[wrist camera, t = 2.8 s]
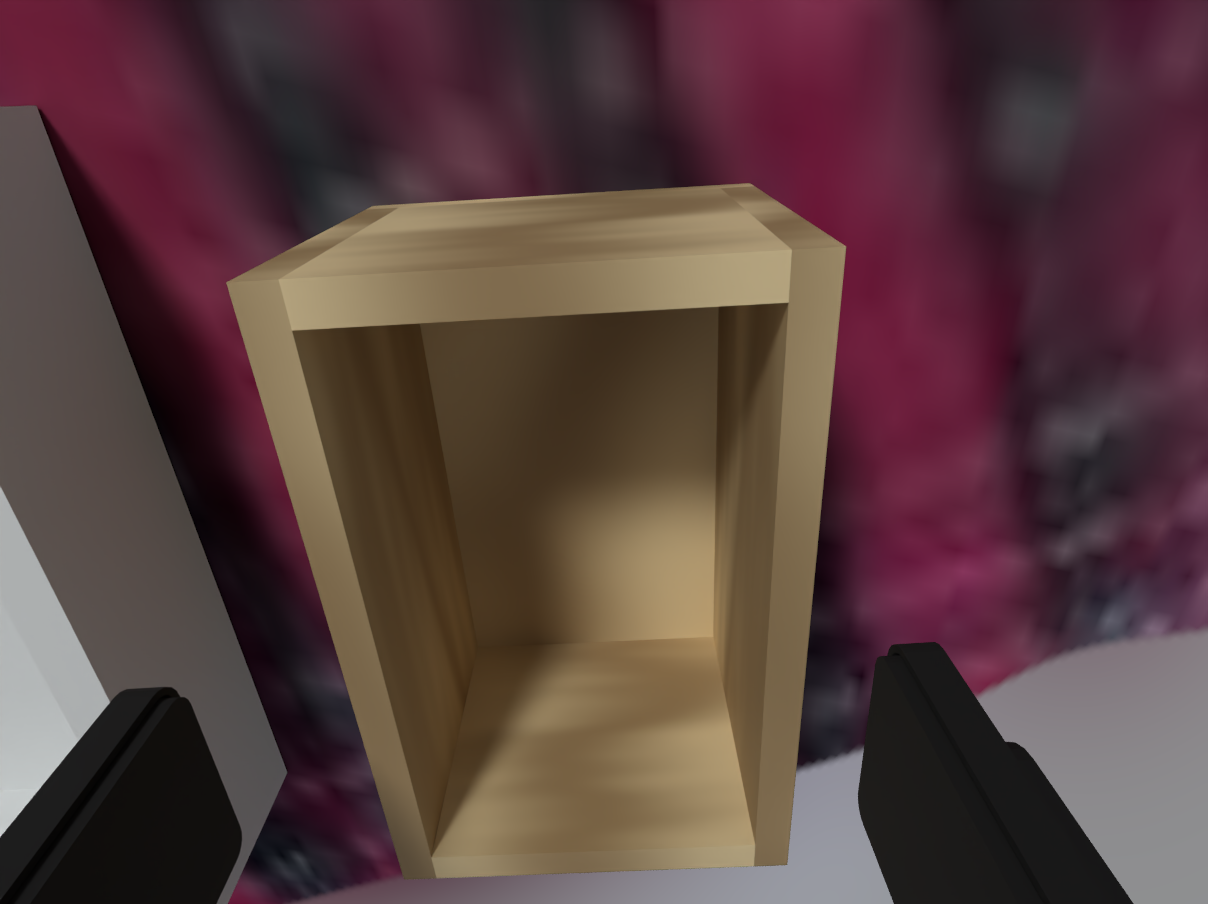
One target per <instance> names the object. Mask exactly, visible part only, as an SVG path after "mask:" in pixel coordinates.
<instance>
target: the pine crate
mask: <svg viewBox="0 0 1208 904" xmlns="http://www.w3.org/2000/svg"><path fill="white" fill-rule="evenodd" d="M845 252H846V246H844V245H843V244H841V243H840V242H838V241H837V240H835V239H834V238H832V237H831V236H829V235H828V234H826V233H825V232H823V231H822V230H820V229H819V228H817V227H816V226H814V225H812V224H811V223H809V222H808V221H806V220H805V219H803V218H802V217H800V216H799V215H797V214H796V213H794V212H793V211H791V210H790V209H788V208H787V207H785V206H784V205H782V204H781V203H779V202H777V201H776V200H774V199H773V198H771V197H770V196H768V195H767V194H765V193H764V192H762V191H761V190H759V189H758V188H756V187H755V186H753V185H752V184H750V183H747V184H730V185H713V186H697V187H680V188H664V189H647V190H631V191H614V192H598V193H581V194H565V195H548V196H532V197H515V198H499V199H482V200H466V201H449V202H433V203H416V204H400V205H383V206H372V207H370V208H368V209H366V210H364V211H362V212H360V213H359V214H357V215H355V216H353V217H351V218H349V219H347V220H345V221H343V222H341V223H339V224H337V225H336V226H334V227H332V228H330V229H328V230H326V231H324V232H322V233H320V234H318V235H316V236H315V237H313V238H311V239H309V240H307V241H305V242H303V243H301V244H299V245H297V246H295V247H293V248H292V249H290V250H288V251H286V252H284V253H282V254H280V255H278V256H276V257H274V258H272V259H270V260H269V261H267V262H265V263H263V264H261V265H259V266H257V267H255V268H253V269H251V270H249V271H247V272H246V273H244V274H242V275H240V276H238V277H236V278H234V279H232V280H230V281H228V282H226V283H227V286H228V290H229V293H230V297H231V300H232V303H233V307H234V310H235V313H236V317H237V320H238V323H239V327H240V330H241V333H242V337H243V340H244V343H245V347H246V350H247V354H248V357H249V360H250V364H251V367H252V370H253V374H254V377H255V380H256V384H257V387H258V390H259V394H260V397H261V401H262V404H263V407H264V411H265V414H266V417H267V421H268V424H269V427H270V431H271V434H272V437H273V441H274V444H275V448H276V451H277V454H278V458H279V461H280V464H281V468H282V471H283V474H284V478H285V481H286V484H287V488H288V491H289V494H290V498H291V501H292V505H293V508H294V511H295V515H296V518H297V521H298V525H299V528H300V531H301V535H302V538H303V541H304V545H305V548H306V552H307V555H308V558H309V562H310V565H311V568H312V572H313V575H314V578H315V582H316V585H317V588H318V592H319V595H320V599H321V602H322V605H323V609H324V612H325V615H326V619H327V622H328V625H329V629H330V632H331V635H332V639H333V642H334V645H335V649H336V652H337V656H338V659H339V662H340V666H341V669H342V672H343V676H344V679H345V682H346V686H347V689H348V692H349V696H350V699H351V703H352V706H353V709H354V713H355V716H356V719H357V723H358V726H359V729H360V733H361V736H362V739H363V743H364V746H365V750H366V753H367V756H368V760H369V763H370V766H371V770H372V773H373V776H374V780H375V783H376V786H377V790H378V793H379V796H380V800H381V803H382V807H383V810H384V813H385V817H386V820H387V823H388V827H389V830H390V833H391V837H392V840H393V843H394V847H395V850H396V854H397V857H398V860H399V864H400V867H401V870H402V874H403V877H404V879H430V878H455V877H482V876H509V875H536V874H562V873H589V872H614V871H641V870H668V869H695V868H721V867H748V866H775V865H787V860H788V850H789V839H790V828H791V818H792V807H793V798H794V787H795V777H796V766H797V756H798V745H799V735H800V724H801V714H802V703H803V693H804V682H805V672H806V661H807V651H808V640H809V630H810V619H811V609H812V598H813V588H814V578H815V567H816V557H817V546H818V536H819V525H820V515H821V504H822V494H823V483H824V473H825V462H826V452H827V441H828V431H829V420H830V410H831V399H832V389H833V378H834V368H835V357H836V347H837V336H838V326H839V315H840V305H841V294H842V284H843V273H844V263H845Z"/></svg>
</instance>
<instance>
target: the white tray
mask: <svg viewBox="0 0 1208 904" xmlns="http://www.w3.org/2000/svg"><path fill="white" fill-rule="evenodd" d="M153 687H172V688H174V689H175V690H177V692H178V694H179V695H180V697H185V698H187V699H188V700H189V701H190V703H191V705H192V707H193V710H194V712H195V715H196V717H197V720H198V722H199V725H200V727H201V730H202V732H203V735H204V737H205V740H206V742H207V745H208V747H209V750H210V752H211V755H212V757H213V760H214V762H215V765H216V767H217V770H218V772H219V775H220V777H221V780H222V782H223V784H224V787H225V789H226V792H227V794H228V797H229V799H230V802H231V804H232V807H233V809H234V812H235V814H236V817H237V819H238V822H239V824H240V827H241V831H242V845H241V850H240V854H239V857H238V859H237V861H236V864H235V866H234V868H233V870H232V872H231V874H230V876H229V878H228V881H227V883H226V885H225V887H224V889H223V891H222V893H221V895H220V897H219V900H218V902H217V904H228V902H229V899H230V897H231V895H232V893H233V891H234V889H235V886H236V884H237V882H238V880H239V878H240V875H241V873H242V871H243V869H244V867H245V864H246V862H247V860H248V858H249V856H250V854H251V851H252V849H253V847H254V845H255V843H256V840H257V838H258V836H259V834H260V832H261V829H262V827H263V825H264V823H265V821H266V819H267V816H268V814H269V812H270V810H271V808H272V805H273V803H274V801H275V799H276V797H277V794H278V792H279V790H280V788H281V786H282V784H283V781H284V779H285V777H286V775H287V770H286V767H285V765H284V762H283V760H282V757H281V754H280V752H279V749H278V746H277V744H276V741H275V738H274V736H273V733H272V730H271V728H270V725H269V722H268V720H267V717H266V714H265V712H264V709H263V706H262V704H261V701H260V698H259V696H258V693H257V690H256V688H255V685H254V682H253V680H252V677H251V674H250V672H249V669H248V667H247V664H246V661H245V659H244V656H243V653H242V651H241V648H240V645H239V643H238V640H237V637H236V635H235V632H234V629H233V627H232V624H231V621H230V619H229V616H228V613H227V611H226V608H225V605H224V603H223V600H222V597H221V595H220V592H219V589H218V587H217V584H216V581H215V579H214V576H213V574H212V571H211V568H210V566H209V563H208V560H207V558H206V555H205V552H204V550H203V547H202V544H201V542H200V539H199V536H198V534H197V531H196V528H195V526H194V523H193V520H192V518H191V515H190V512H189V510H188V507H187V504H186V502H185V499H184V496H183V494H182V491H181V488H180V486H179V483H178V481H177V478H176V475H175V473H174V470H173V467H172V465H171V462H170V459H169V457H168V454H167V451H166V449H165V446H164V443H163V441H162V438H161V435H160V433H159V430H158V427H157V425H156V422H155V419H154V417H153V414H152V411H151V409H150V406H149V403H148V401H147V398H146V395H145V393H144V390H143V388H142V385H141V382H140V380H139V377H138V374H137V372H136V369H135V366H134V364H133V361H132V358H131V356H130V353H129V350H128V348H127V345H126V342H125V340H124V337H123V334H122V332H121V329H120V326H119V324H118V321H117V318H116V316H115V313H114V310H113V308H112V305H111V303H110V300H109V297H108V295H107V292H106V289H105V287H104V284H103V281H102V279H101V276H100V273H99V271H98V268H97V265H96V263H95V260H94V257H93V255H92V252H91V249H90V247H89V244H88V241H87V239H86V236H85V233H84V231H83V228H82V225H81V223H80V220H79V217H78V215H77V212H76V210H75V207H74V204H73V202H72V199H71V196H70V194H69V191H68V188H67V186H66V183H65V180H64V178H63V175H62V172H61V170H60V167H59V164H58V162H57V159H56V156H55V154H54V151H53V148H52V146H51V143H50V140H49V138H48V135H47V132H46V130H45V127H44V124H43V122H42V119H41V117H40V114H39V111H38V109H37V106H10V107H0V837H1V835H2V834H3V833H4V832H5V831H6V829H7V828H8V827H9V826H10V824H11V823H12V822H13V821H14V820H15V818H16V817H17V816H18V815H19V813H20V812H21V811H22V810H23V808H24V807H25V806H26V805H27V804H28V802H29V801H30V800H31V799H32V797H33V796H34V795H35V794H36V793H37V791H38V790H39V789H40V788H41V786H42V785H43V784H44V783H45V782H46V780H47V779H48V778H49V777H50V775H51V774H52V773H53V772H54V770H55V769H56V768H57V767H58V766H59V764H60V763H61V762H62V761H63V759H64V758H65V757H66V756H67V755H68V753H69V752H70V751H71V750H72V748H73V747H74V746H75V745H76V743H77V742H78V741H79V740H80V739H81V737H82V736H83V735H84V734H85V732H86V731H87V730H88V729H89V728H90V726H91V725H92V724H93V723H94V721H95V720H96V719H97V718H98V717H99V715H100V714H101V713H102V712H103V710H104V709H105V708H106V707H107V705H108V704H109V703H110V702H111V701H112V699H113V698H114V697H115V696H116V695H117V694H118V693H119V692H121V691H123V690H126V689H136V688H153Z"/></svg>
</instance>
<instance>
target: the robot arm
mask: <svg viewBox="0 0 1208 904" xmlns="http://www.w3.org/2000/svg"><path fill="white" fill-rule="evenodd" d="M858 804H859V810H860V815H861V819H862V822H863V825H864V828H865V830H866V833H867V835H868V838H869V840H870V843H871V846H872V848H873V851H874V853H875V856H876V858H877V861H878V864H879V866H880V869H881V871H882V874H883V877H884V879H885V882H886V884H887V887H888V889H889V892H890V895H891V896H892V900H893V902H894V904H1133V902H1132V901H1131V900H1130V898H1129V897H1128V895H1127V894H1126V892H1125V891H1124V889H1123V888H1122V886H1121V885H1120V884H1119V882H1118V881H1117V879H1116V878H1115V877H1114V875H1113V873H1112V872H1111V870H1110V869H1109V868H1108V866H1107V865H1106V863H1105V862H1104V860H1103V859H1102V857H1101V856H1100V855H1099V853H1098V852H1097V850H1096V849H1095V847H1094V846H1093V844H1092V843H1091V842H1090V840H1089V839H1088V837H1087V836H1086V834H1085V833H1084V832H1083V830H1082V829H1081V827H1080V826H1079V824H1078V823H1077V821H1076V820H1075V818H1074V817H1073V816H1072V814H1071V813H1070V811H1069V810H1068V808H1067V807H1066V806H1065V804H1064V803H1063V801H1062V800H1061V798H1060V797H1059V795H1058V794H1057V792H1056V791H1055V790H1054V788H1053V787H1052V785H1051V784H1050V782H1049V781H1048V779H1047V778H1046V776H1045V775H1044V774H1043V772H1042V771H1041V770H1040V768H1039V766H1038V765H1037V763H1036V762H1035V761H1034V759H1033V758H1032V757H1031V756H1030V755H1029V753H1028V752H1027V751H1026V750H1025V749H1024V748H1023V747H1021V746H1020V745H1018V744H1017V743H1014V742H1005V741H1004V739H1003V738H1002V736H1001V735H1000V733H999V732H998V730H997V729H996V727H995V726H994V724H993V723H992V721H991V720H990V718H989V717H988V715H987V714H986V712H985V711H984V709H983V708H982V706H981V705H980V703H979V702H978V700H977V699H976V697H975V696H974V694H973V693H972V691H971V690H970V688H969V687H968V685H967V684H966V682H965V681H964V679H963V678H962V676H961V675H960V673H959V672H958V670H957V669H956V667H955V666H954V664H953V663H952V661H951V660H950V658H949V657H948V655H947V654H946V652H945V651H944V649H943V648H942V647H941V646H940V645H939V644H937V643H936V642H928V643H911V644H895V645H892V646H891V647H890V649H889V652H888V655H887V656H880V657H878V658H877V660H876V664H875V671H874V679H873V686H872V694H871V701H870V709H869V716H868V723H867V731H866V738H865V746H864V753H863V761H862V768H861V776H860V783H859V790H858ZM241 845H242V831H241V827H240V824H239V822H238V819H237V817H236V814H235V812H234V809H233V807H232V804H231V802H230V799H229V797H228V794H227V792H226V789H225V787H224V784H223V782H222V780H221V777H220V775H219V772H218V770H217V767H216V765H215V762H214V760H213V757H212V755H211V752H210V750H209V747H208V745H207V742H206V740H205V737H204V735H203V732H202V730H201V727H200V725H199V722H198V720H197V717H196V715H195V712H194V710H193V707H192V705H191V703H190V701H189V700H188V699H187V698H185V697H180V695H179V694H178V692H177V690H175V689H174V688H172V687H153V688H136V689H126V690H123V691H121V692H119V693H118V694H117V695H116V696H115V697H114V698H113V699H112V701H111V702H110V703H109V704H108V705H107V707H106V708H105V709H104V710H103V712H102V713H101V714H100V715H99V717H98V718H97V719H96V720H95V721H94V723H93V724H92V725H91V726H90V728H89V729H88V730H87V731H86V732H85V734H84V735H83V736H82V737H81V739H80V740H79V741H78V742H77V743H76V745H75V746H74V747H73V748H72V750H71V751H70V752H69V753H68V755H67V756H66V757H65V758H64V759H63V761H62V762H61V763H60V764H59V766H58V767H57V768H56V769H55V770H54V772H53V773H52V774H51V775H50V777H49V778H48V779H47V780H46V782H45V783H44V784H43V785H42V786H41V788H40V789H39V790H38V791H37V793H36V794H35V795H34V796H33V797H32V799H31V800H30V801H29V802H28V804H27V805H26V806H25V807H24V808H23V810H22V811H21V812H20V813H19V815H18V816H17V817H16V818H15V820H14V821H13V822H12V823H11V824H10V826H9V827H8V828H7V829H6V831H5V832H4V833H3V834H2V835H1V837H0V904H217V902H218V900H219V897H220V895H221V893H222V891H223V889H224V887H225V885H226V883H227V881H228V878H229V876H230V874H231V872H232V870H233V868H234V866H235V864H236V861H237V859H238V857H239V854H240V850H241Z"/></svg>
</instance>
